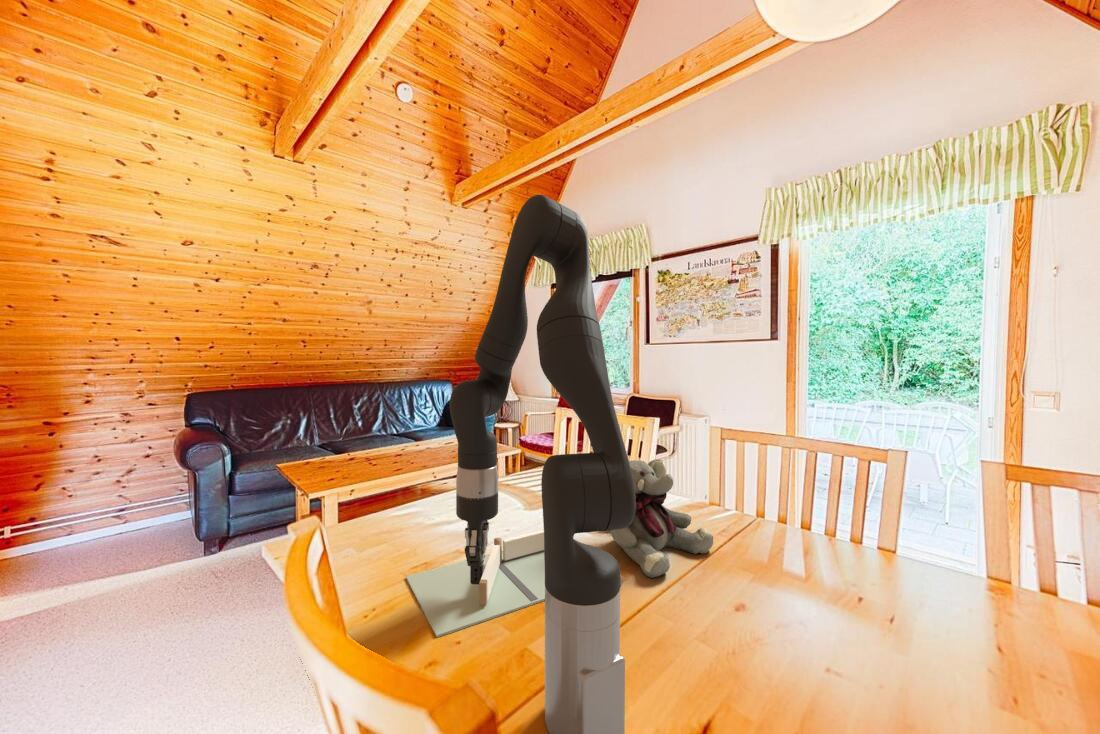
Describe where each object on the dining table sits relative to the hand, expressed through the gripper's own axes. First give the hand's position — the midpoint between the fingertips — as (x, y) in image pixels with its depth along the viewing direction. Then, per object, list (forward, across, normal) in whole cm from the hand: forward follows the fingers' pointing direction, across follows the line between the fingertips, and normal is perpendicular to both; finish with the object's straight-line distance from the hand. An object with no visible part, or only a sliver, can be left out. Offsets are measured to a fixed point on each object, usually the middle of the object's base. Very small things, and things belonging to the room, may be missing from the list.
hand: (477, 581), depth 81 cm
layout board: (+3, +6, -4) cm, 8 cm away
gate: (+2, +4, -2) cm, 5 cm away
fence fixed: (+3, +16, -9) cm, 18 cm away
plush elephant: (+3, +21, -36) cm, 42 cm away
